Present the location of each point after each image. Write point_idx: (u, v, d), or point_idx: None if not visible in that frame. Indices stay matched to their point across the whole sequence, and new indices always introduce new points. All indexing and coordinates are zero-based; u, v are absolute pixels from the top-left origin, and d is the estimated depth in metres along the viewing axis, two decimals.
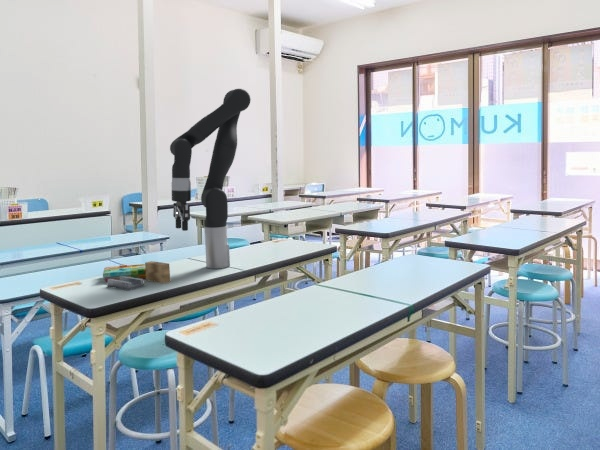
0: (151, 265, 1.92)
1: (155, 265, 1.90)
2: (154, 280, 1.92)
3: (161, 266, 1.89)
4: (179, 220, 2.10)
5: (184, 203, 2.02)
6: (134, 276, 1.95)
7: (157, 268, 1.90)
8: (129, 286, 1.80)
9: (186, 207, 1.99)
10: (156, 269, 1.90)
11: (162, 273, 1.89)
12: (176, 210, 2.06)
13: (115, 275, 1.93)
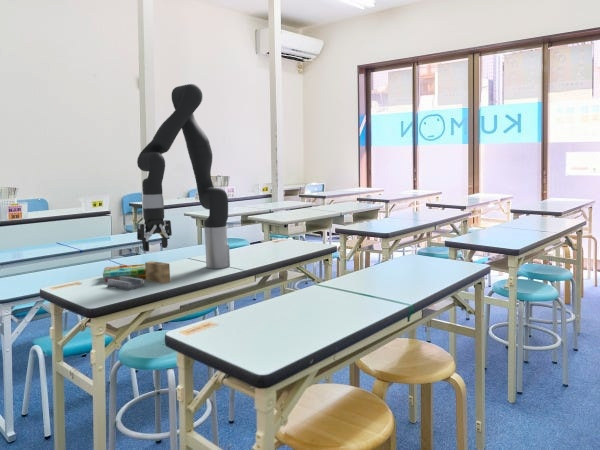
0: (151, 265, 1.92)
1: (155, 265, 1.90)
2: (154, 280, 1.92)
3: (161, 266, 1.89)
4: None
5: None
6: (134, 276, 1.95)
7: (157, 268, 1.90)
8: (129, 286, 1.80)
9: None
10: (156, 269, 1.90)
11: (162, 273, 1.89)
12: (154, 230, 1.88)
13: (115, 275, 1.93)
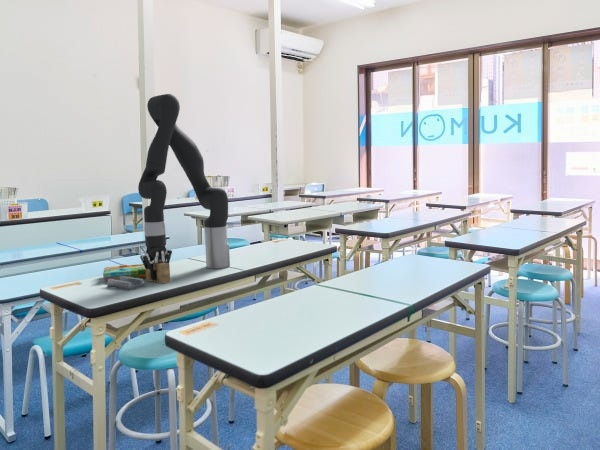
0: None
1: None
2: (154, 280, 1.92)
3: (161, 266, 1.89)
4: None
5: None
6: (134, 276, 1.96)
7: (157, 268, 1.90)
8: (129, 286, 1.80)
9: None
10: (156, 268, 1.90)
11: (162, 273, 1.89)
12: (157, 256, 1.90)
13: (116, 275, 1.93)
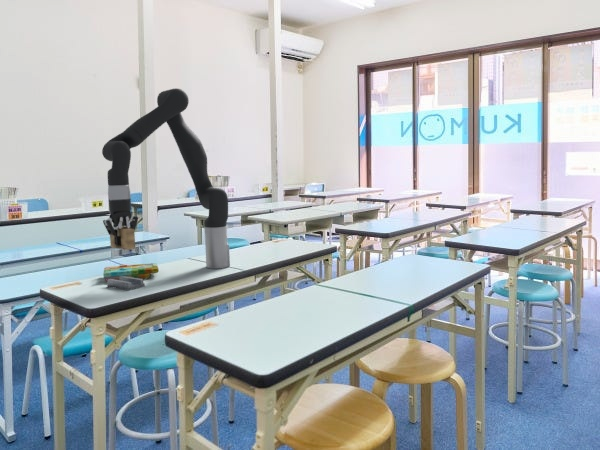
0: None
1: None
2: None
3: (125, 231, 1.80)
4: None
5: None
6: (135, 276, 1.96)
7: (122, 234, 1.81)
8: (129, 286, 1.80)
9: None
10: (120, 234, 1.81)
11: (126, 239, 1.80)
12: (121, 222, 1.81)
13: (116, 275, 1.93)
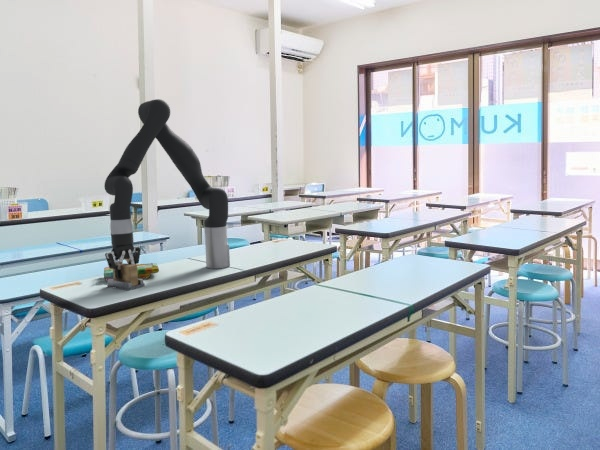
0: None
1: (122, 267, 1.83)
2: None
3: (128, 268, 1.82)
4: None
5: None
6: None
7: (125, 270, 1.83)
8: (129, 286, 1.80)
9: None
10: (123, 271, 1.83)
11: (129, 275, 1.82)
12: (123, 256, 1.83)
13: None
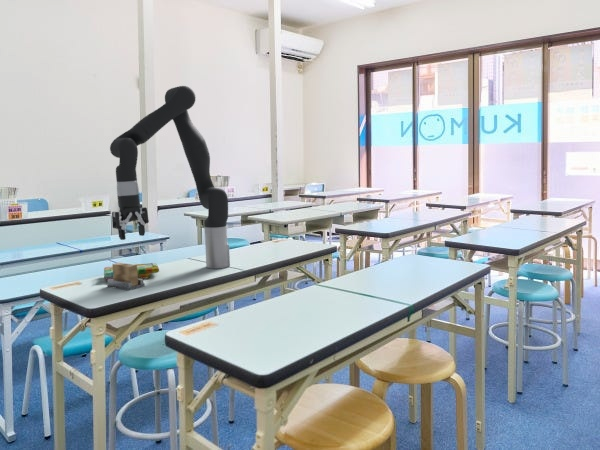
0: (118, 267, 1.85)
1: (122, 267, 1.83)
2: None
3: (128, 268, 1.82)
4: None
5: None
6: None
7: (124, 270, 1.83)
8: (129, 286, 1.80)
9: None
10: (123, 271, 1.83)
11: (129, 275, 1.82)
12: (129, 217, 1.85)
13: None
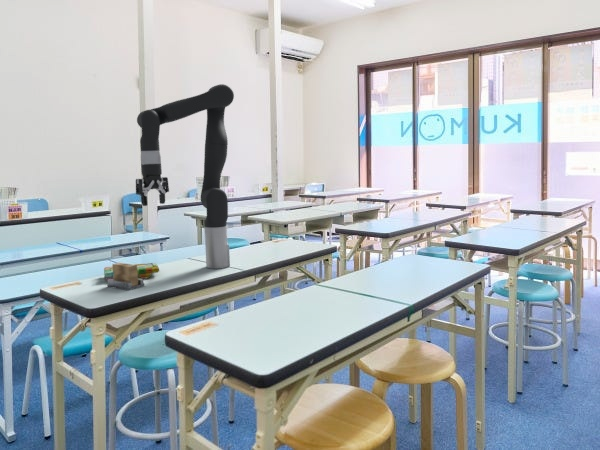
0: (118, 267, 1.85)
1: (122, 267, 1.83)
2: None
3: (128, 268, 1.82)
4: None
5: None
6: None
7: (124, 270, 1.83)
8: (129, 286, 1.80)
9: None
10: (123, 271, 1.83)
11: (129, 275, 1.82)
12: (151, 185, 1.96)
13: None
